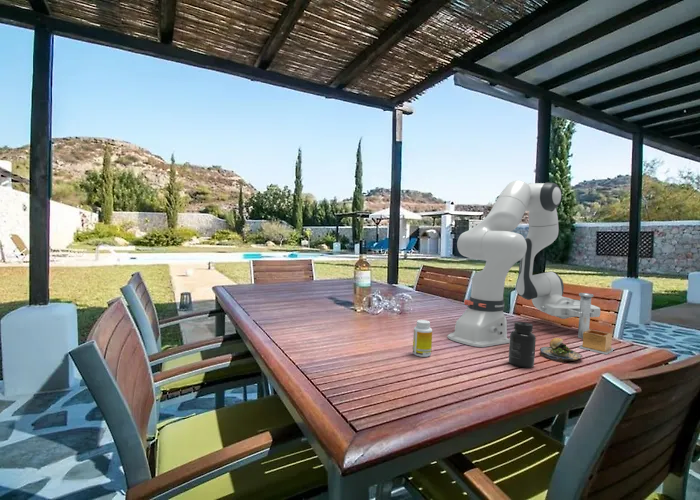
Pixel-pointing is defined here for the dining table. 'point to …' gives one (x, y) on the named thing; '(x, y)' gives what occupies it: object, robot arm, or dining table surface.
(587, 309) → the drop pin
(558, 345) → the burger
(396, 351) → the dining table surface
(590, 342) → the block
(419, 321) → the supplement bottle
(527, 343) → the supplement bottle
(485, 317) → the robot arm
